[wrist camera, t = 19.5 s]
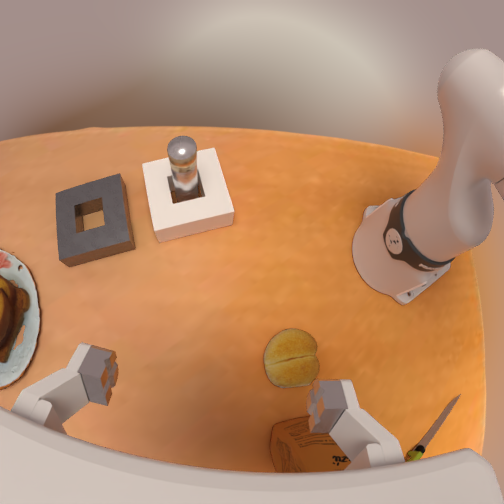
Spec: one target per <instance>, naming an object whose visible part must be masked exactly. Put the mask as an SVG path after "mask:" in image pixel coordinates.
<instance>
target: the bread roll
mask: <svg viewBox="0 0 504 504" xmlns="http://www.w3.org/2000/svg"><path fill="white" fill-rule="evenodd" d="M316 351H317V342H316V340H315V339H314V338H313V337H312V336H311V335H310V334H309V333H307V332H305V331H303V330H299V329H287V330H284V331H282V332H280V333H279V334H277V335H276V336H274V337H273V338H272V339H271V340H270V342H269V344H268V345H267V347H266V350H265V353H264V364H265V370H266V374H267V376H268V378H269V379H270V381H271V382H272V383H273V384H274V385H276V386H278V387H281V388H291V387H299V386H307V385H310V384H311V382H312V381H313V380H315V378H316V377H317V375H318V372H319V367H320V365H319V361H318V359H317V357H316V356H315V353H316Z"/></svg>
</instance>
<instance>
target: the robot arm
mask: <svg viewBox="0 0 504 504" xmlns="http://www.w3.org/2000/svg"><path fill="white" fill-rule="evenodd" d="M437 93H438V94H437V96H438V102H439V105H440V108H441V113H442V118H443V126H444V128H443V129H444V135H443V146H442V152H441V156H440V159H439V162H438V164H437V166H436V168H435V169H434V171H433V172H432V173H431V174H430V175H429V177H428V178H427V179H426V180H425V181H424V182H423V183H422V184H421V185H420V186H419V187H418V188H417V189H415V190H412V191H410V192H409V193H407V194H405V195H404V196H403V197H400V198H397V199H393V198H391V199H389V200H387V201H386V202H384V203H383V204H382V205H381V206H368V207H367V208H366V209H365V210H364V214H363V221H362V223H361V225H360V226H359V228H358V229H357V231H356V233H355V235H354V239H353V244H352V253H353V259H354V263H355V266H356V268H357V270H358V272H359V274H360V275H361V277H362V278H363V279H364V281H365V282H366V283H367V284H368V285H369V286H371V287H372V288H373V289H375V290H376V291H379V292H381V293H384V294H387V295H390V296H391V297H393V298H394V299H395V300H396V301H397V302H398V303H400V304H401V305H405V304H407V303H409V302H410V301H411V300H413V299H414V298H415V297H416V296H418V295H419V294H420V293H421V292H423V291H424V290H425V289H426V288H428V287H429V286H430V285H431V284H432V283H434V282H435V281H436V280H437V279H438V278H440V277H441V276H442V275H443V274H444V273H445V272H447V271H448V270H449V269H450V262H451V261H452V260H453V259H454V258H455V257H456V256H458V255H460V254H462V253H464V252H466V251H468V250H470V249H472V248H474V247H476V246H478V245H480V244H481V243H482V242H483V241H484V240H485V239H486V237H487V236H488V234H489V232H490V230H491V227H492V222H493V215H494V207H493V199H492V193H491V182H492V184H494V185H495V187H496V189H497V190H498V192H499V194H500V195H501V197H502V198H503V200H504V61H502V60H501V59H500V58H498V57H497V56H496V55H494V54H493V53H492V52H490V51H489V50H486V49H470V50H466V51H463V52H460V53H458V54H457V55H455V56H454V57H453V58H451V60H449V61H448V62H447V64H446V65H445V67H444V68H443V70H442V72H441V75H440V78H439V82H438V91H437ZM407 293H409V296H408V294H407ZM116 358H117V357H116V352H115V351H112V350H109V349H105V348H101V347H98V346H94V345H90V344H86V343H83V342H82V343H80V344H79V346H78V347H77V349H76V351H75V353H74V354H73V356H72V358H71V360H70V362H69V364H68V365H67V367H66V369H64V368H62V369H60V370H58V371H56V372H55V373H53V374H51V375H49V376H47V377H45V378H44V379H42V380H40V381H38V382H36V383H34V384H33V385H31V386H29V387H27V388H25V389H23V390H22V391H21V393H20V395H19V397H18V398H17V400H16V402H15V404H14V406H13V408H12V409H11V411H9V410H7V409H5V408H3V407H1V406H0V504H504V501H503V497H502V494H501V490H500V487H499V484H498V481H497V478H496V475H495V472H494V470H493V468H492V466H491V464H490V463H489V462H488V461H487V460H486V459H484V458H483V457H482V456H480V455H479V454H478V453H476V452H475V451H473V450H472V449H469V448H464V449H460V450H456V451H453V452H449V453H445V454H441V455H437V456H433V457H428V458H424V459H419V460H414V461H409V462H405V460H404V456H403V453H402V450H401V447H400V444H399V441H398V439H396V438H395V437H394V436H393V435H392V434H391V433H390V432H388V431H387V430H386V429H385V428H384V427H383V426H382V425H381V424H379V423H378V422H377V421H376V420H375V419H374V418H373V417H372V416H371V415H369V414H368V413H367V412H366V411H365V410H364V409H360V406H359V403H358V400H357V397H356V393H355V390H354V387H353V384H352V381H351V380H342V379H339V380H338V379H316V380H315V381H314V383H313V389H312V390H310V391H309V393H308V396H307V401H306V408H307V412H308V413H309V414H310V415H311V416H310V418H309V420H308V422H309V428H310V433H329V435H330V436H331V437H332V438H333V440H334V441H335V442H336V443H337V445H338V446H339V447H340V448H341V450H342V451H343V452H344V453H345V454H346V456H347V457H348V458H349V459H350V460H351V463H350V464H349V466H348V467H347V468H346V469H345V470H344V471H330V472H309V473H268V472H247V471H233V470H222V469H213V468H204V467H197V466H190V465H183V464H177V463H171V462H166V461H160V460H155V459H151V458H146V457H141V456H137V455H133V454H129V453H125V452H121V451H117V450H113V449H110V448H106V447H103V446H99V445H96V444H93V443H89V442H86V441H83V440H80V439H77V438H74V437H71V436H69V435H67V433H66V431H65V430H64V428H63V426H62V423H64V422H65V421H66V420H67V419H69V418H70V417H71V416H72V415H74V414H75V413H76V412H77V411H79V410H80V409H81V408H83V407H84V406H85V405H86V404H88V403H89V401H90V402H94V403H98V404H102V405H106V406H108V404H109V401H110V398H111V396H112V391H111V388H112V387H114V386H115V385H116V382H117V379H118V364H117V363H116V362H115V360H116Z"/></svg>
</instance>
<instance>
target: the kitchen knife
mask: <svg viewBox="0 0 504 504" xmlns="http://www.w3.org/2000/svg"><path fill="white" fill-rule="evenodd" d="M460 395H461V394H460ZM460 395H458V396H457V397H456V398H454V399H453V400H452V401H451V402H450V403H449V404H448V406H447V407H446V408H445V409H444V411H443V412H442V414H441V415H440V416H439V418H438V419H437V420H436V422H435V423H434V424H433V426H432V427H431V428H430V430H429V431H428V432H427V433H426V435H425V436H424V437H423V438H422V440H421V441H420V442H419V443H418V444H417V446H416V447H415V448H414V449H413V450H412V451H409V452H408V453H407V454H408V455H409V456H410V457H412V458H410V459H409V460H407V461H406V462H409V461H414V460H419V459H420V458H421V456H422V455H423V453H424V452H425V448H426V446H427V445H428V444H429V442H430V441H431V439H432V438H433V437H434V435H435V434H436V432H437V431H438V429H439V428H440V426H441V425H442V424H443V422H444V421H445V419H446V417H447V416H448V414H449V413H450V411H451V410H452V408H453V406H454V405H455V403H456V402H457V400H458V398H459V397H460Z"/></svg>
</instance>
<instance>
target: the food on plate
mask: <svg viewBox="0 0 504 504" xmlns="http://www.w3.org/2000/svg"><path fill="white" fill-rule="evenodd" d="M13 253H14V252H13ZM20 264H21V265H22V266H23V269H20V271H18V267H19V265H20ZM9 280H14V281H15V283H16V284H17V285H18V288H17V287H14V286H13V285H12V284H11V283H10V282H9ZM35 285H36V284H35V282H34V280H33V279H32V275H31V274H30V270H29V269H28V267H27V266H26V265H25V264H23V263H21V261H20V260H18V259H16V257H15V256H12V255H11V254H9V253H7V252H5V251H3V250H1V249H0V390H2V388H3V387H8V386H9V385H10V384H11V383H13V384H14V381H16V380H18V379H19V378H20V377H21V376H23V373H24V372H25V368H27V367H28V366H29V363H30V362H29V361H30V360H31V361H32V356H33V352H34V350H35V347H36V345H37V342H36V339H37V336H38V333H39V331H40V328H39V326H40V318H39V315H40V308H38V299H37V291H36V290H35ZM23 325H25V331H24V334H23V336H24V339H23V342H22V344H20V345H18V346H17V347H16V350H13V349H14V346H15V343H16V339H17V335H18V332H20V330H21V327H22V326H23Z"/></svg>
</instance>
